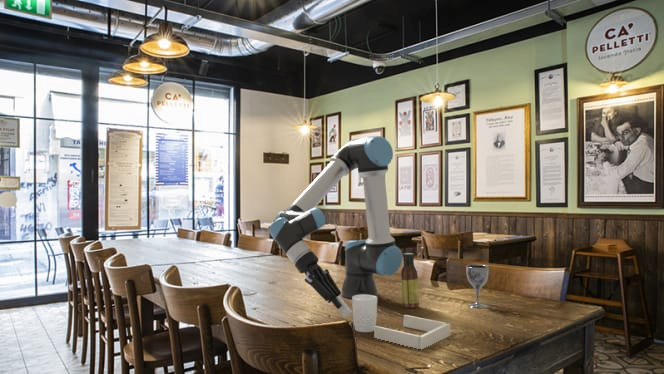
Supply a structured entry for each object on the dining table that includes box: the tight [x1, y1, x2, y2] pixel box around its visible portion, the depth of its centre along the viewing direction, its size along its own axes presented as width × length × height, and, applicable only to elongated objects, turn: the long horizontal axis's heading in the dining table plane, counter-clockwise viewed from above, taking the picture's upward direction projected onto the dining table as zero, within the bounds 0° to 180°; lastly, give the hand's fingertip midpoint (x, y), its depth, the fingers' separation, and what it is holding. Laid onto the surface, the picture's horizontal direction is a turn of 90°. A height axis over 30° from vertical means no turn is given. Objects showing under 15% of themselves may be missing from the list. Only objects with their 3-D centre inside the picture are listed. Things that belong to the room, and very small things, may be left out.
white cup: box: [351, 294, 378, 333], centre depth 140 cm, size 8×8×10 cm
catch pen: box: [373, 314, 451, 351], centre depth 132 cm, size 16×17×4 cm
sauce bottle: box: [400, 252, 420, 309], centre depth 168 cm, size 7×6×20 cm
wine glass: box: [466, 264, 489, 309], centre depth 169 cm, size 8×8×15 cm
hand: (348, 314), depth 141 cm, fingers closed
